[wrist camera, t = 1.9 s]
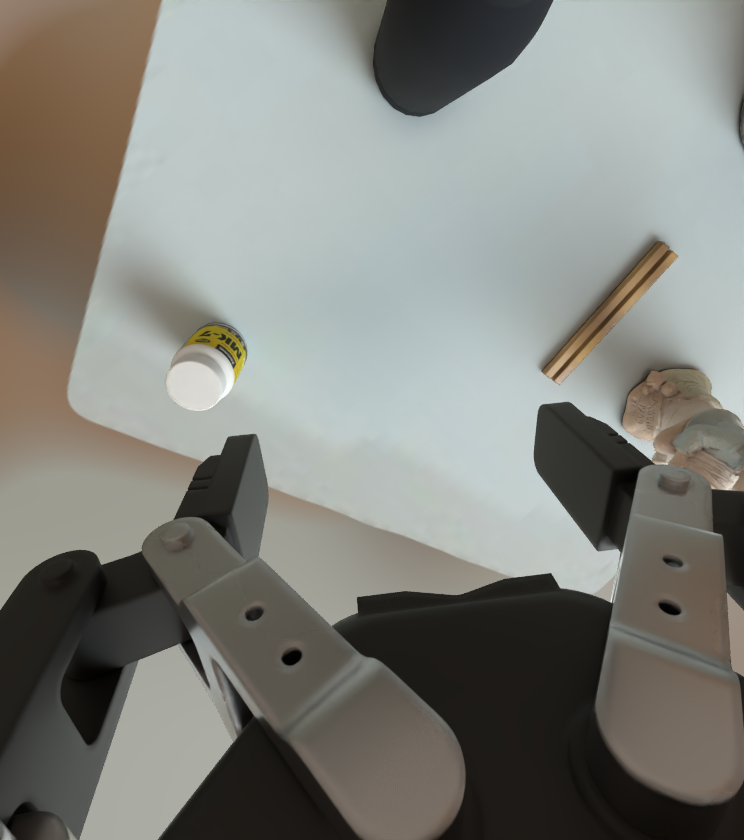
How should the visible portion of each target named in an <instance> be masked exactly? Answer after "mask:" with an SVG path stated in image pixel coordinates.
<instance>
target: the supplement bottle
mask: <svg viewBox="0 0 744 840" xmlns="http://www.w3.org/2000/svg"><path fill="white" fill-rule="evenodd" d="M246 359H247V346H246V343H245V341H244V339H243V337H242V336H241V335H240V333H239V332H237V331H236V330H235V329H233V328H232V327H230V326H227V325H224V324H219V323H212V324H208V325H205V326H203V327H202V328H200V329H199V330H198V331H197V332H196V333H195V334H194V335H193V336H192V337H191V338H190V339H189V340H188V341H187V342H186V343H185V344H184V345H183V347H182V348H181V349H180V350H179V351H178V352H177V353H176V354H175V356H174V357H173V359H172V362H171V366H170V369H169V371H168V373H167V375H166V381H165V383H166V389H167V392H168V394H169V395H170V397H171V398H172V399H173V400H174V401H175V402H176V403H177V404H178V405H180V406H181V407H184V408H186V409H189V410H194V411H202V410H206V409H209V408H211V407H213V406H214V405H215V404H216V403H217V402H218V401H219V400H220V399H222V398H223V397H225V396H226V395H227V394H228V393H229V392H230V390H231V389H232V387H233V385H234V383H235V381H236V379H237V377H238V375H239V374H240V372H241V370H242V368H243V366H244V364H245V362H246Z"/></svg>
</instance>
